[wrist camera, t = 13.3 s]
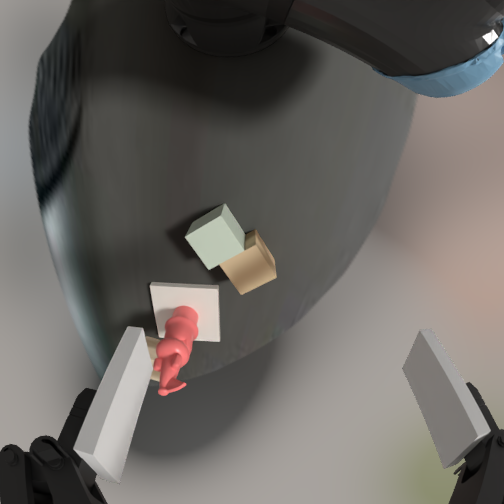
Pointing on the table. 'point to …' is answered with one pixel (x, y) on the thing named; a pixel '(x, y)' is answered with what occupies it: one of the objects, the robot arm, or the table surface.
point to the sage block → (216, 237)
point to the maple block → (153, 355)
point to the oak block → (250, 265)
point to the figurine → (175, 348)
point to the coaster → (190, 295)
